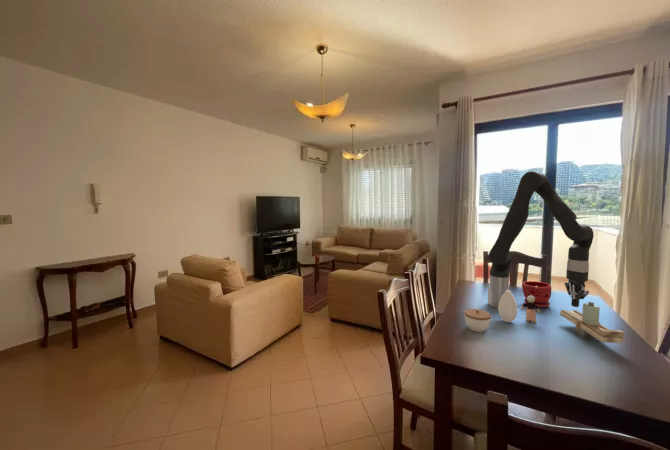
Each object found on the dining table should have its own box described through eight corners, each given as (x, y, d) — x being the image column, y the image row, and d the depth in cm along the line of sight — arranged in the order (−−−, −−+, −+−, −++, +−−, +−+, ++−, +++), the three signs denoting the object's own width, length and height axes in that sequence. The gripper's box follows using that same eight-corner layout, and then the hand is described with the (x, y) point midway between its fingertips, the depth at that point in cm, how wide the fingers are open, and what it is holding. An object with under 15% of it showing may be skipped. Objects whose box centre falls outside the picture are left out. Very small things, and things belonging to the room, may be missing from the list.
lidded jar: (466, 322, 138) (467, 303, 137) (491, 327, 131) (492, 308, 131) (462, 330, 129) (462, 311, 128) (488, 337, 123) (489, 316, 122)
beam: (599, 351, 109) (601, 331, 108) (558, 322, 134) (559, 305, 134) (624, 353, 108) (625, 332, 107) (577, 323, 133) (578, 306, 132)
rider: (588, 325, 118) (589, 304, 117) (582, 321, 122) (583, 300, 121) (598, 325, 117) (599, 304, 116) (591, 321, 121) (592, 301, 120)
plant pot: (549, 302, 160) (550, 282, 159) (551, 310, 149) (552, 288, 148) (521, 298, 167) (522, 279, 166) (522, 306, 156) (523, 285, 155)
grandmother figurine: (538, 320, 138) (539, 295, 136) (540, 323, 134) (541, 297, 133) (519, 318, 141) (520, 293, 140) (521, 321, 137) (522, 295, 136)
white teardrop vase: (518, 326, 132) (520, 288, 131) (500, 324, 135) (501, 287, 133) (514, 319, 140) (515, 283, 138) (496, 317, 142) (497, 282, 141)
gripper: (559, 265, 134) (557, 300, 135) (577, 272, 121) (575, 311, 122) (577, 265, 132) (574, 301, 134) (597, 273, 119) (595, 312, 121)
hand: (575, 306), depth 128 cm, fingers closed
